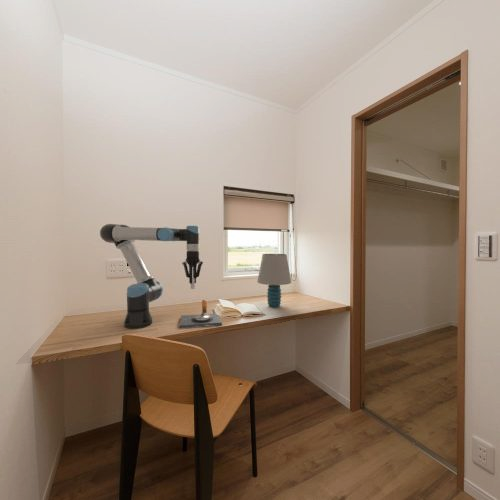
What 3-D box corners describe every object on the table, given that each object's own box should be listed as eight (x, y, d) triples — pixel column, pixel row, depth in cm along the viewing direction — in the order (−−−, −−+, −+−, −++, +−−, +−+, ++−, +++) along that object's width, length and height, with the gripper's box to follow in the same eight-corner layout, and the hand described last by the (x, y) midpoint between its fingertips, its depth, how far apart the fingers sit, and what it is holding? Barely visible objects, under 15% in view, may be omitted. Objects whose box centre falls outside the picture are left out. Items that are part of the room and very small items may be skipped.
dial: (209, 321, 147) (209, 305, 147) (192, 321, 147) (192, 305, 147) (212, 314, 162) (212, 299, 161) (197, 314, 162) (196, 299, 161)
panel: (179, 328, 141) (179, 325, 141) (181, 317, 160) (181, 315, 160) (221, 325, 146) (221, 322, 146) (218, 315, 165) (218, 312, 165)
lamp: (282, 312, 172) (283, 255, 170) (251, 307, 185) (251, 254, 183) (296, 304, 193) (296, 254, 192) (267, 300, 207) (267, 253, 205)
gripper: (184, 251, 148) (184, 290, 149) (205, 250, 155) (204, 288, 156) (180, 250, 154) (180, 288, 155) (200, 250, 162) (199, 286, 163)
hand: (192, 288), depth 156 cm, fingers closed
